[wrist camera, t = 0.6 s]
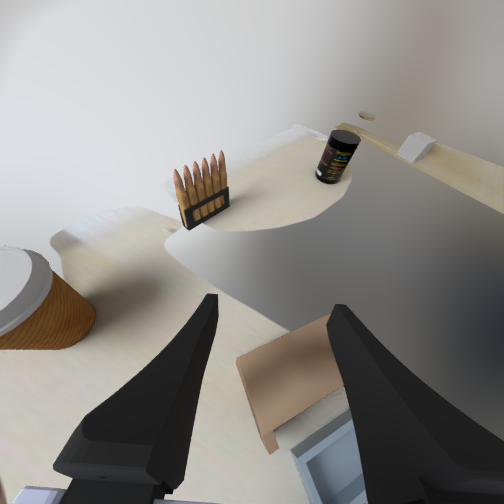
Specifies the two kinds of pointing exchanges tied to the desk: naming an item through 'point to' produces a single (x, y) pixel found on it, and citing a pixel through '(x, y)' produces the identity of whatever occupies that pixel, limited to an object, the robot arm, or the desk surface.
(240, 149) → the desk surface
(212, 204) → the ammunition clip
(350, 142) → the supplement container
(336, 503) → the grey tray
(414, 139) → the grey cube
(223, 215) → the desk surface
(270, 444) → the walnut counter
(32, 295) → the disposable coffee cup
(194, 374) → the robot arm
